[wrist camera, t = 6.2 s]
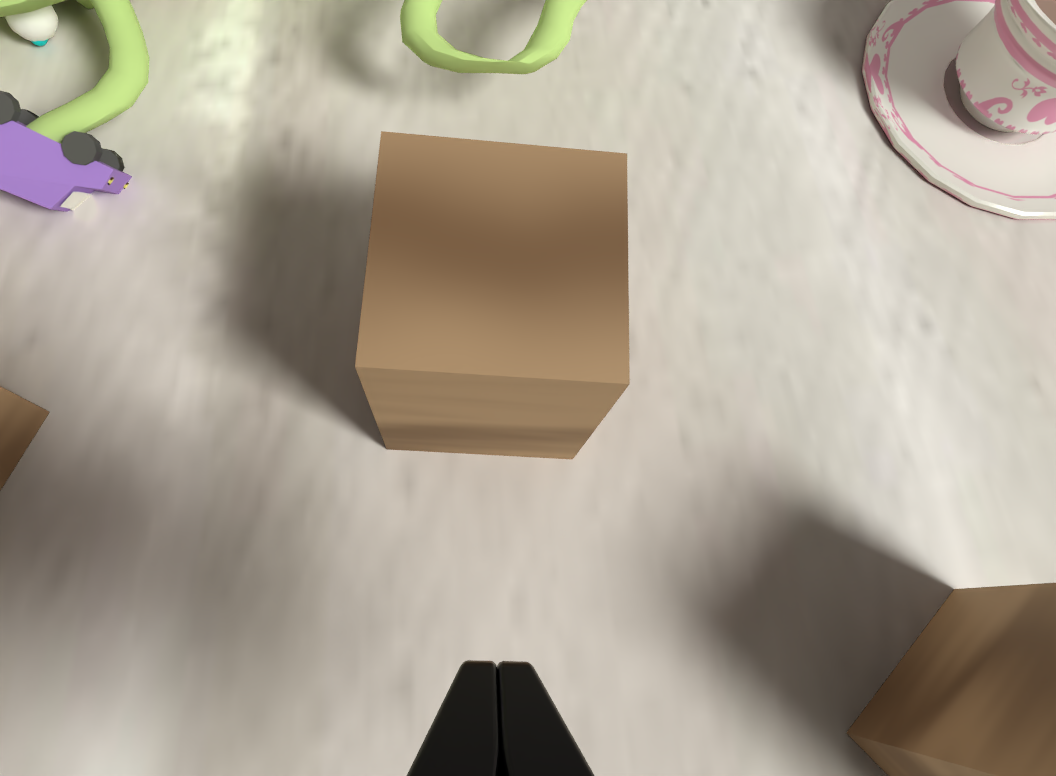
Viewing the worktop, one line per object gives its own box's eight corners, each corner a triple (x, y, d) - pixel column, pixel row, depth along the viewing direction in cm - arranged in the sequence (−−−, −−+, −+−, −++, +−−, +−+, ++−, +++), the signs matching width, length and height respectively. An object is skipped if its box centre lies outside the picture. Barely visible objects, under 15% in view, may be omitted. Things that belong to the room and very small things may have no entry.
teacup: (864, 201, 28) (974, 91, 22) (852, -35, 32) (942, -182, 26) (1154, 243, 29) (1333, 148, 23) (1108, 9, 33) (1252, -125, 27)
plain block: (572, 459, 24) (629, 384, 16) (386, 449, 23) (354, 367, 16) (574, 292, 25) (627, 153, 18) (403, 279, 25) (381, 131, 17)
